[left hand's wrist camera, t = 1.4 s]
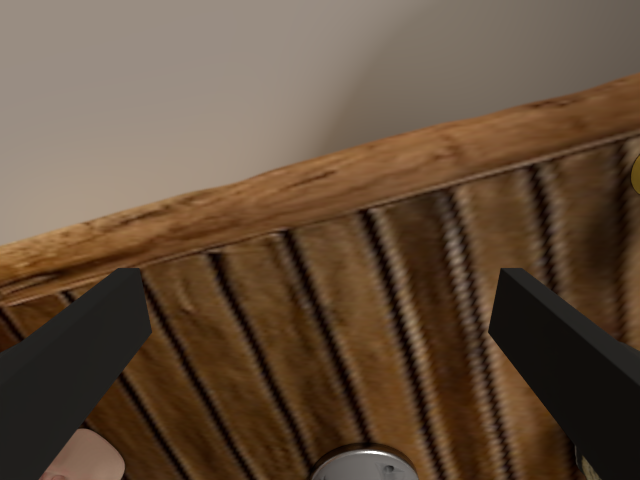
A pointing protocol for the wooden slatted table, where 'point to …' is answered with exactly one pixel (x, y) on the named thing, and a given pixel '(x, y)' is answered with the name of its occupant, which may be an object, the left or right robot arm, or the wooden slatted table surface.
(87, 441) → the anatomical model
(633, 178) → the cylinder
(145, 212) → the wooden slatted table surface
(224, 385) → the wooden slatted table surface
